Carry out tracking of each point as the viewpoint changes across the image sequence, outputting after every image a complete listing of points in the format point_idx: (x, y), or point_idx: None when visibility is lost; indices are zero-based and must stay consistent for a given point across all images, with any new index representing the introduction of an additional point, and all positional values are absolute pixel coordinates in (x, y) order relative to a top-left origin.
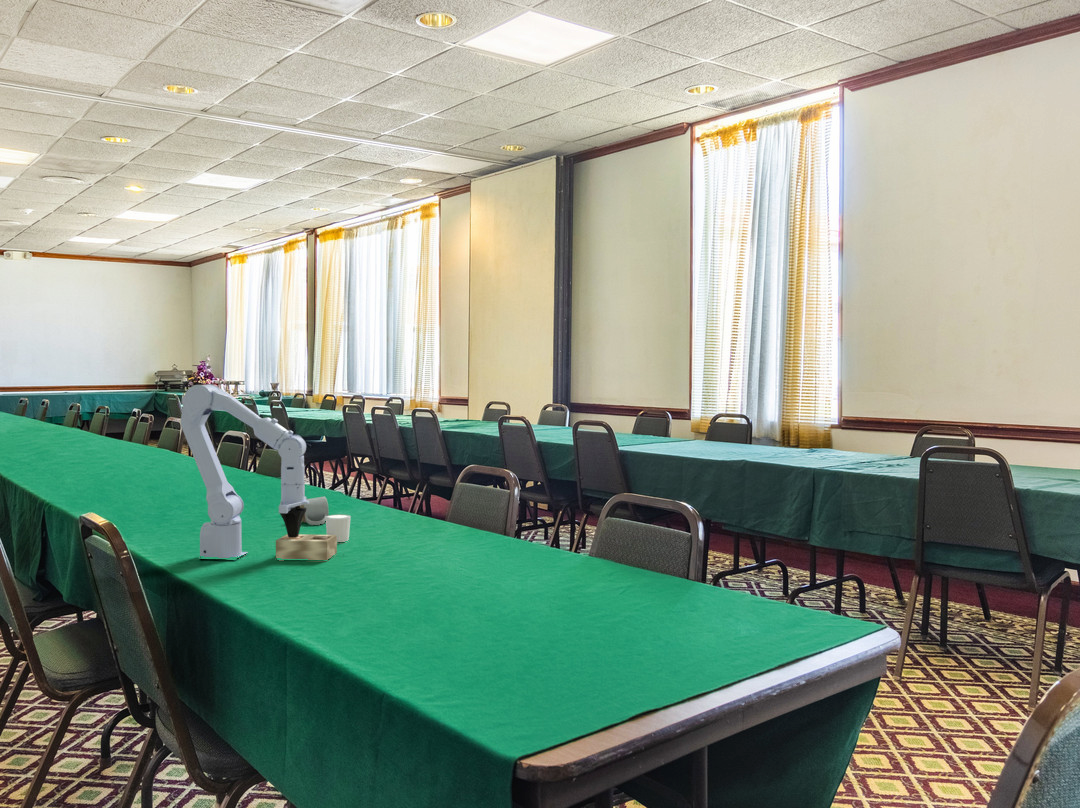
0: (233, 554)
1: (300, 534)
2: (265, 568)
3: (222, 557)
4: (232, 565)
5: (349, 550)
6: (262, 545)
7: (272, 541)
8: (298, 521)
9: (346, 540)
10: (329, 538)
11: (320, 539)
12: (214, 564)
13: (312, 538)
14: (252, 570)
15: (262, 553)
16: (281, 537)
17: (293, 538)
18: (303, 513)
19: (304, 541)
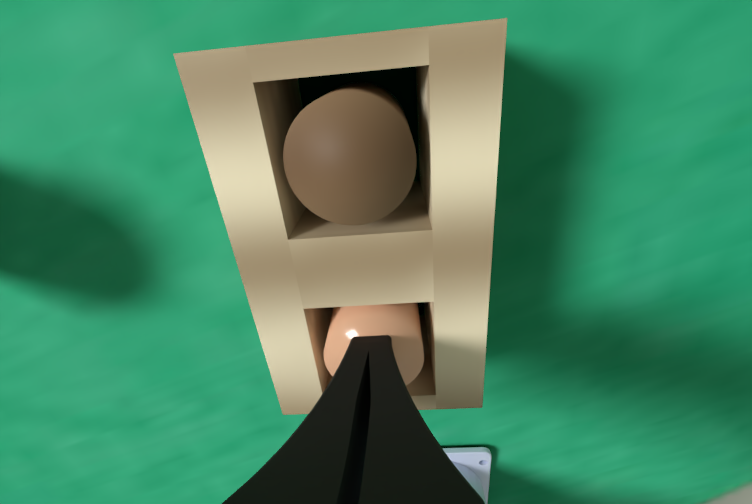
0: (464, 476)
1: (267, 348)
2: (631, 306)
3: (483, 488)
4: (558, 429)
5: (95, 8)
6: (204, 456)
7: (125, 451)
8: (411, 426)
9: None
10: (355, 58)
11: (409, 135)
12: (538, 476)
13: (341, 232)
14: (665, 340)
15: None
16: None
17: (419, 339)
18: (307, 487)
19: (490, 239)
